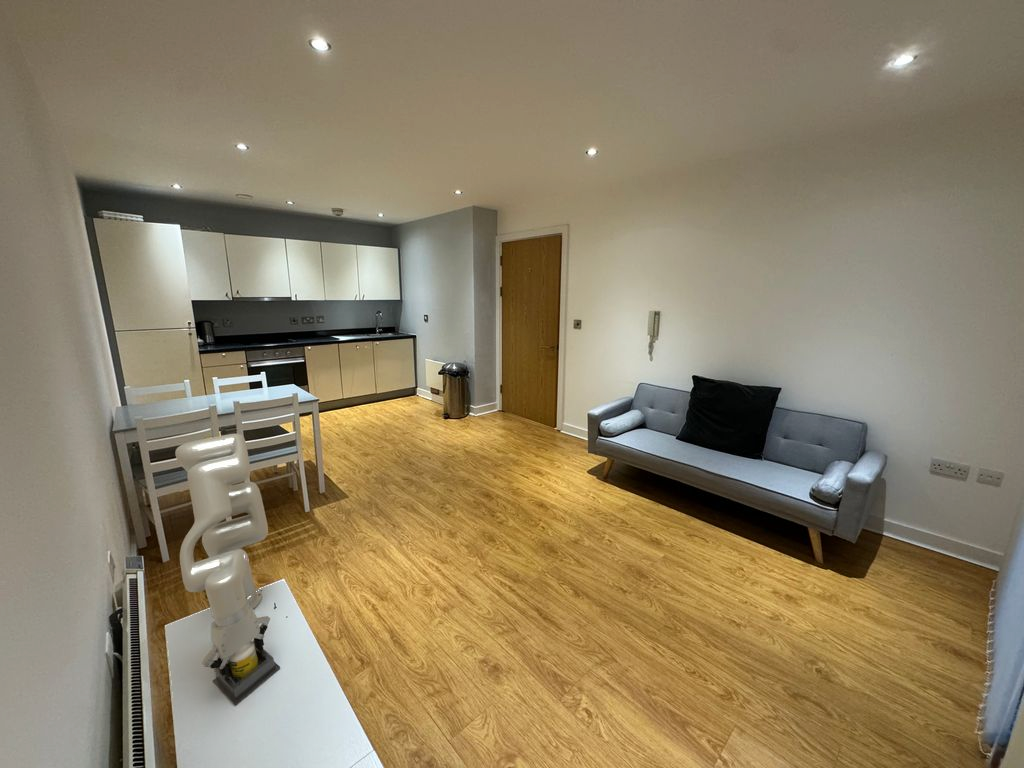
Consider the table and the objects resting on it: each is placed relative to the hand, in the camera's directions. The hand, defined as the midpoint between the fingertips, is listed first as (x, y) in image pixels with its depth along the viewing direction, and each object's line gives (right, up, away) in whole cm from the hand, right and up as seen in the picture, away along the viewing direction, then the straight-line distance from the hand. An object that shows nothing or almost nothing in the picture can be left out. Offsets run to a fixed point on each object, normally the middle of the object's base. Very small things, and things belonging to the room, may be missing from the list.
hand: (243, 661), depth 112 cm
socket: (0, -5, +2) cm, 5 cm away
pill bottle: (0, -4, +2) cm, 5 cm away
